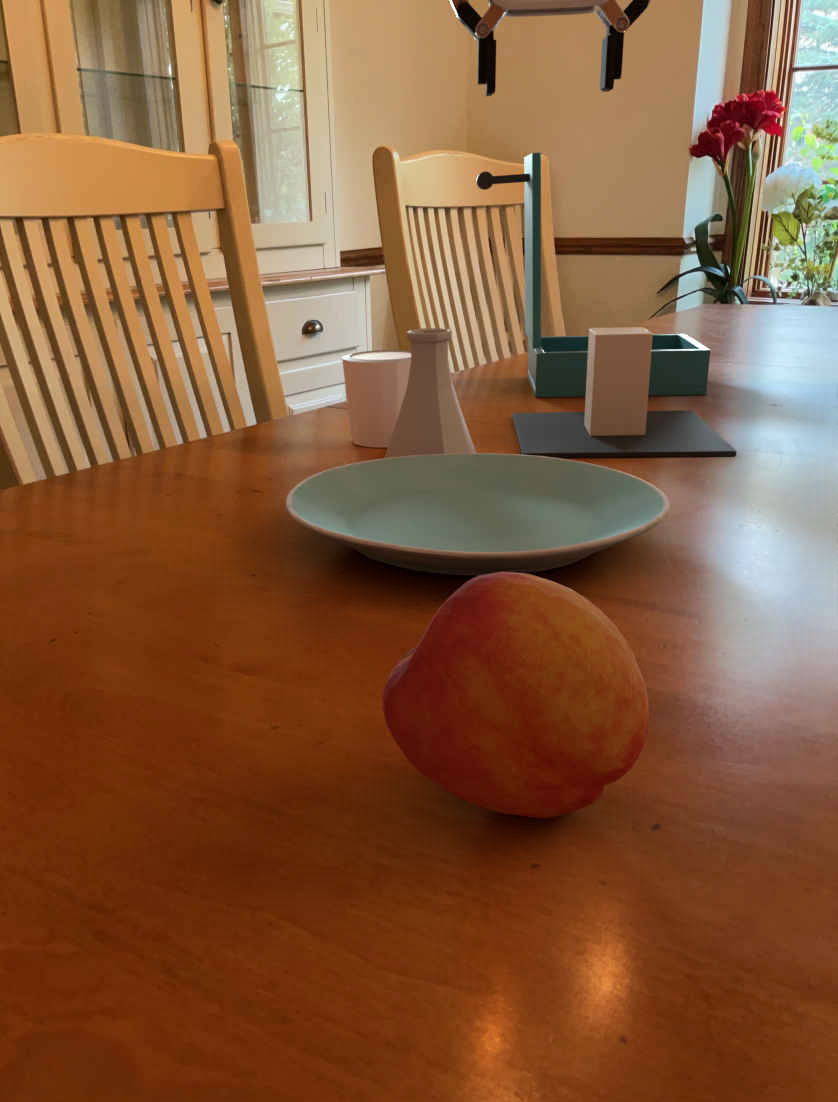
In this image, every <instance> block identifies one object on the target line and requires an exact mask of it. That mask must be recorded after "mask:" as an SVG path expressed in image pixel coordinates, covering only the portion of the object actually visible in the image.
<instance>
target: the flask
mask: <svg viewBox="0 0 838 1102" xmlns="http://www.w3.org/2000/svg"><path fill="white" fill-rule="evenodd" d="M452 336H453V329H450V328H439V327H434V328H433V327H431V328H430V327H429V328H427V327H426V328H425V327H423V328H415V329H410V330H408V331H407V332H406V339H407V341H408V342H410V351H411V365H410V372H409V378H408V385H407V389H406V393H405V396H404V399H403V402H402V406H401V409H400V412H399V416H398V419H397V422H396V425H395V428H394V431H393V434H392V437H391V440H390V443H389V446H388V447H387V449H386V452H385V455H384V458H392V457H402V456H413V455H429V454H455V453H477V451H476V448H475V445H474V442H473V439H472V437H471V435H470V432H469V429H468V425H467V424H466V420H465V419H464V415H463V412H462V408H461V406H460V403H459V400H458V396H457V393H456V390H455V387H454V385H453V384H454V383H453V379H452V372H451V367H450V361H449V340H450V339H451V338H452Z"/></svg>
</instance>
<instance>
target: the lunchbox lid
mask: <svg viewBox="0 0 838 1102" xmlns="http://www.w3.org/2000/svg"><path fill="white" fill-rule="evenodd" d="M516 183H523V184H524V185H523V186H524V187H523V191H524V198H523V199H524V204H523V205H524V207H523V210H524V215H523V217H524V219H523V220H524V333H525V336H526V337H527V339H528V341H529V342H530V344H531V346H532V348H533V349H534V348H541V337H542V152H532V153H530V154H528V155H526V156H524V157H523V173H516V174H515V173H514V174H503V175H502V174H501V175H493V174H492V173H491V172H490V171H482V172H480V173H479V174H478V175H477V177H476V179H475V184H476V186H477V188H478V189H480V190H482V191H486V190H489V189H491V188H492V186H493V185H502V184H516Z"/></svg>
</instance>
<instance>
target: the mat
mask: <svg viewBox="0 0 838 1102" xmlns="http://www.w3.org/2000/svg"><path fill="white" fill-rule="evenodd" d="M584 418H585V411H561V412H560V411H556V412H555V411H554V412H548V411H547V412H546V411H545V412H512V420H513V424H514V429H515V433H516V437H517V441H518V442H517V443H518V446H519V449H520V455H534V456H545V457H553V458H561V459H575V458H576V459H577V458H578V459H579V458H582V459H587V458H590V459H592V458H673V457H674V458H675V457H676V458H677V457H678V458H679V457H680V458H683V457H685V458H687V457H693V458H694V457H736V456H737V450H736V449H735V448H734V447H733V446H732V445H731V444H730V443H729V442H728V441H726V440H725V439H724V438H723V437H722V436H721V435H719V434H718V432H717V431H715V430H714V429H713V428H712V426H711V425H709V424H708V423H707V422H706V421H705V420H703V418H702V417H700V416H699V414H697V413H696V412H695V411H694V410H691V409H690V410H647V416H646V429H645V435H630V436H590V434H589V433H588V431H587V429H586V427H585V425H584Z"/></svg>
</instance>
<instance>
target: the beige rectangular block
mask: <svg viewBox="0 0 838 1102" xmlns="http://www.w3.org/2000/svg"><path fill="white" fill-rule="evenodd" d="M653 334H654V333H652V332H651V331H649V330H648V329H647V328H645V327H644V326H625V327H623V326H622V327H619V326H618V327H589V328H588V336H589V341H588V360H587V380H586V397H585V398H584V399H585V400H584V401H585V402H584V404H585V405H584V412H585V418H584V425H585V427H586V429H587V431H588V433H589V434H590V436H630V435H645V429H646V416H647V411H648V402H649V401H648V400H649V396H648V389H649V376H650V363H651V349H652V336H653Z"/></svg>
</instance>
